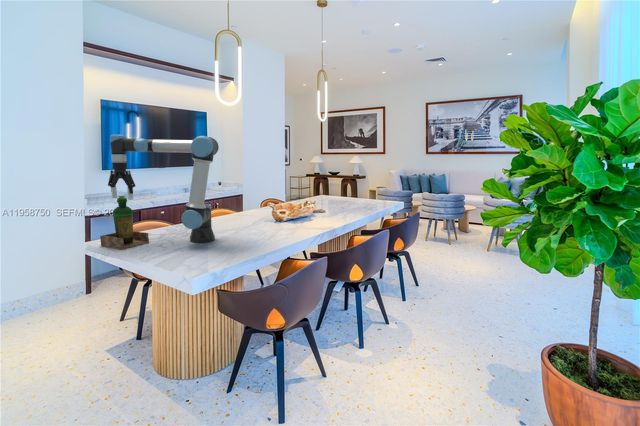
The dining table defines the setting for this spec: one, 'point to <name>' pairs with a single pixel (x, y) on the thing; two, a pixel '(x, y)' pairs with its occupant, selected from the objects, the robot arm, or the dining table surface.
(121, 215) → the bottle
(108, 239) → the tray
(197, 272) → the dining table surface
